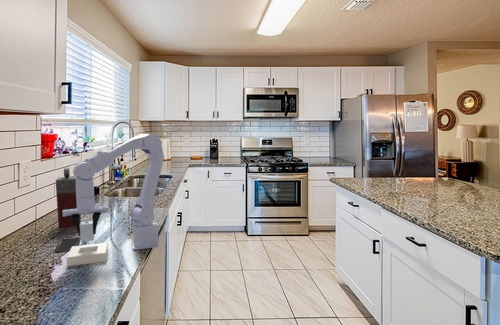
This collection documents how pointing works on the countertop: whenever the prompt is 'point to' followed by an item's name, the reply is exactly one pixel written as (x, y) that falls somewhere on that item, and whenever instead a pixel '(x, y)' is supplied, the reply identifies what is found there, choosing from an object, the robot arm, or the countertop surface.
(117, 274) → the countertop surface
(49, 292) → the countertop surface
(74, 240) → the phone
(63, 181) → the dark red french press
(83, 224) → the block
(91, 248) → the block
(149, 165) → the robot arm
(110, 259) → the countertop surface
